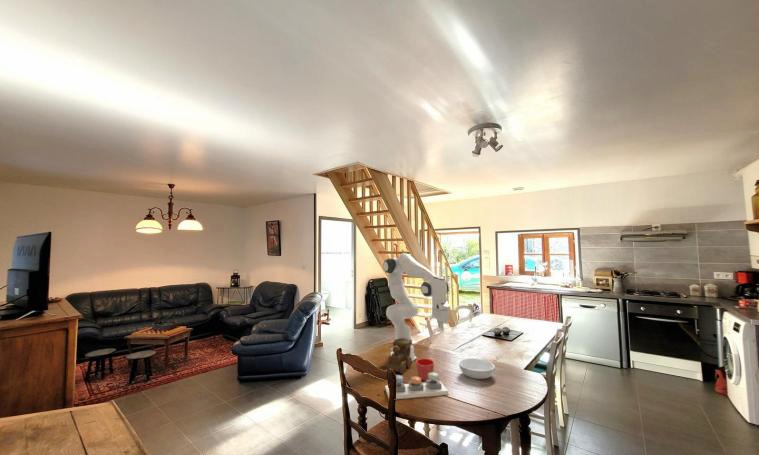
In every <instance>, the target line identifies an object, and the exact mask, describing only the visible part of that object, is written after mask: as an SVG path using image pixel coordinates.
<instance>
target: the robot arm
mask: <svg viewBox="0 0 759 455" xmlns="http://www.w3.org/2000/svg"><path fill="white" fill-rule="evenodd" d="M382 268H383V270H384V272H385V273H386V274H387V282H388V287H389V291H390V292H389V293H390V296H391V297H392V299H394V300H396V301H397V303H394V304H392V305H388V306H387V308H386V310H385V315H386V318H387V319H388V320H390V321H391V323H392V325H393V328H394V333H395V334H394V341H395V340H397V339H409V340H412V330H411V326H410V325H408V324H406V321H405V320H407V319H411V318H415V317H416V316H418V315H419V307H418V305H417V303H415V302H413V301H412V299H410V297H409V296H408V292H407V290H406V288H405V283H404V280H403V275H407V276H408V277H410V278H420V279H424V280H426V281H423V282H422V283H421V286H420V291H421V294H422V295H423V296H424V297H428V298H429V297H431V305H432V306H431V307H432V308H431V315H432V317H433V318H434V319H435V320H436V321H437V327H438V328H439V329H443V325H445V324H449V323H450V310H451V306H450V304H449V302H448V297H447V294H448V293H449V290H450V286H449V284H448V282H447V281H446V278H445V277H444V276H439V275H436V274H435V273H434V272H432V271H431V270H430V269H429V268H428V267H426V266H424V265H422V264H420V263H419V262H418V261H417V260H416V259H415V258H414V257H413V256H411V255H410V254H408V253H407V252H406V253H405V252H403V253H400V254H399V255H398V257H393V258H387V259H385V260H384V262H383V264H382ZM392 346H393V345H392ZM393 347H394V346H393ZM393 347H391V348H390V356H389V357H391V355H392V354H394V352H393V350H392V349H393ZM410 357H411V359H412V362H414V360H418V359H417V356H416V355H415V346H413V344H412V345H411V349H410Z"/></svg>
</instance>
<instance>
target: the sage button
mask: <svg viewBox="0 0 759 455" xmlns="http://www.w3.org/2000/svg"><path fill="white" fill-rule="evenodd" d="M428 378H429V379H430V380H432V383H436V380H439V373H438V372H434V371H433V372H431V373H429V374H428Z"/></svg>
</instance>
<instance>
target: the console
mask: <svg viewBox="0 0 759 455" xmlns="http://www.w3.org/2000/svg"><path fill="white" fill-rule="evenodd" d="M384 386H385V387H384V388H385V389H386V390H385V391H386V395H387V398H388V399H389V388H388V385H386V384H385V385H384ZM447 395H449V390H448V389H447V387H445V385H444V384H443V383H442V381H441V380H440V381H439V379H438V380H436V383H432V380H426V381H423V382H422V381H421V384H418V385H414V384H412V383H411V380H409V381H408V383H404V381H403V382H402V383H400V386H397V393H396V399H395V400H400V399H401V400H403V399H412V398H424V397H437V396H447Z"/></svg>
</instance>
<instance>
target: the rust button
mask: <svg viewBox="0 0 759 455" xmlns="http://www.w3.org/2000/svg"><path fill="white" fill-rule="evenodd" d="M410 381H411V383H412V384H414V385H418V384H421V382H422V380H421V378H420V377H419V376H411V377H410Z"/></svg>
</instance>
